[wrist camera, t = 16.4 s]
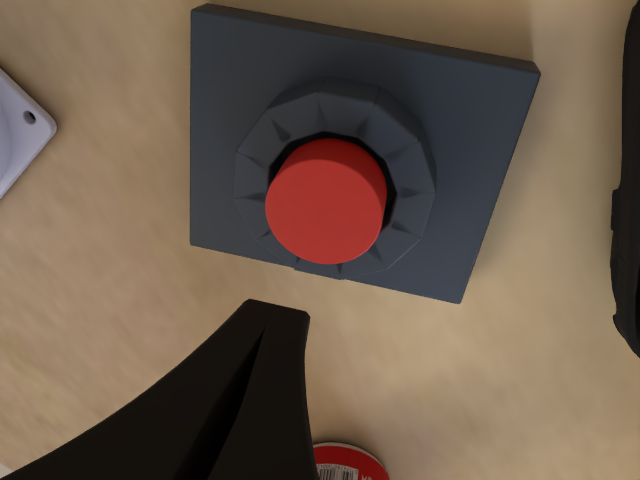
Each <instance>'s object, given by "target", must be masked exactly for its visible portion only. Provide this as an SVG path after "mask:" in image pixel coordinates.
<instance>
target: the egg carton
mask: <svg viewBox="0 0 640 480" xmlns="http://www.w3.org/2000/svg"><path fill="white" fill-rule="evenodd" d="M611 230H612V231H613V237H612V248H611V258H610V268H611V280H612V290H613V294H614V298H615V302H616V309H617V310H616V314H615V315H613V321H614V324H615V326H616V328H617V330H618V332H619V333H620V334H621V335H622V337H623V338H624V339H625V340H626V342H627V343H628V345H629V346H630V348H631V349H632V351H633V352H634V353H635V354H636V355H637V356H638V357H639V358H640V0H638V1H637V4H636V5H635V6H634V7H633V9H632V12H631V15H630V19H629V22H628V26H627V30H626V34H625V43H624V54H623V72H622V166H621V181H620V185H619V187H618V189H616V190H613V194H612V215H611Z"/></svg>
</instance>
